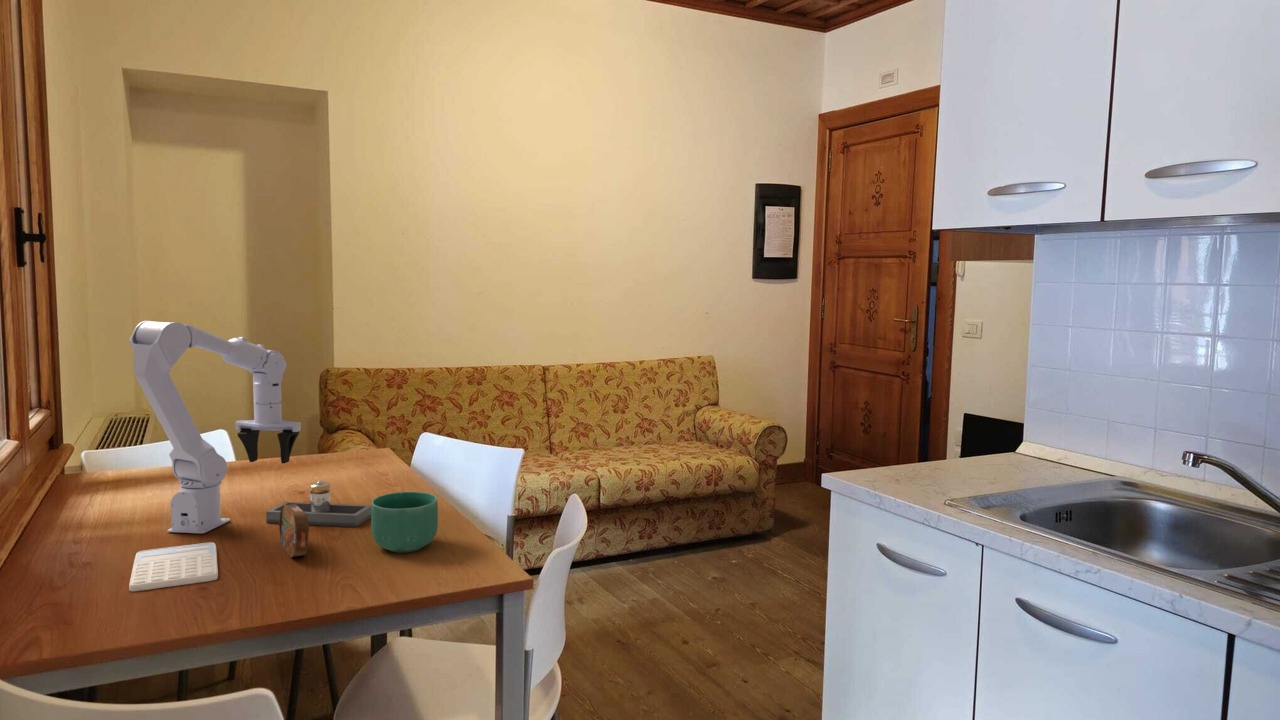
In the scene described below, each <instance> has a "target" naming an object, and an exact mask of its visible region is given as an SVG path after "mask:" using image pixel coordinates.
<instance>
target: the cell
mask: <svg viewBox="0 0 1280 720" xmlns="http://www.w3.org/2000/svg"><path fill="white" fill-rule="evenodd" d="M309 493H310V495H309V496H310V503H311V512H319V513H331V511H330V504H331V483H330V482H327V481H324V480H317V481H316V482H313V483H312V482H311V483H310V485H309Z"/></svg>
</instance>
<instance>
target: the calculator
mask: <svg viewBox="0 0 1280 720" xmlns="http://www.w3.org/2000/svg"><path fill="white" fill-rule="evenodd" d="M218 578H219V569H218V553H217V545H216V543H215V542H202V543H195V544H186V545H179V546H178V545H176V546H169V547H168V546H167V547H161V548H160V547H159V548H152V549H145V550H139V551H137V552H136V554H135V557H134V561H133V565H132V570H131V574H130V579H129V586H128V589H129V591H130V592H141V591H148V590H154V589H155V590H156V589H162V588H168V587H169V588H170V587H176V586H182V585H183V586H185V585H191V584H199V583H205V582H211V581H216V580H217V579H218Z"/></svg>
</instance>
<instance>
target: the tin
mask: <svg viewBox="0 0 1280 720" xmlns="http://www.w3.org/2000/svg"><path fill="white" fill-rule="evenodd" d="M278 526H279V528H278V529H279V530H278V531H279V542H280V544H281V547H282V549H283V550H284V551H285V552H286V554H287V555H288V557H289V558H291V559H292V558H296V557H303V556H306V554H307V553H308V551H309V530H310V525H309V522H308V517H307V515H306V513H305V512H304V511H303V510H302V509H301V508H300V507H299V506H298V505H294V504H293V505H283V506H282V508H281V512H280V521H279V525H278Z"/></svg>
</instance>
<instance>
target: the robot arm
mask: <svg viewBox="0 0 1280 720" xmlns="http://www.w3.org/2000/svg"><path fill="white" fill-rule="evenodd" d="M128 343H130V347H131V348H132V349H133V350H132V351H133V352H132V353H133V374H134V376H135V379H136V381H137V383H138V384H139V386H140V389H141V390H142V392H143V394H144V396H145V398H146V400H147V402H148V403H149V405H150V407H151V408H152V410H153V412H154V414H155V416H156V418H157V420H158V422H159V424H160V426H161V428H162V429H163V431H164V433H165V434H166V437H167V438H168V440H169V442H170V444H171V446H172V450H171V451H170V452H169V455H168V457H169V458H170V460H171V465H172V466H171V467H172V473H173V475H174V476H175V477H176V478H177V479H178V482H179V483H178V484H179V485H180V488H179V491H178V492H176V493H175V494H174V495H173V496H172V498H171V500H170V523H171V525H170V526H171V527H170V528H169V529H167V533H182V534H183V533H184V534H185V533H187V534H205V533H208V532H210V531H212V530H213V529H216V528H218V527H221V526H222V525H224V524H226V523H228V522H230V521H231V518H228V517H226V518H225V517H222V511H221V510H222V507H221V484H222V481H223V480H224V478H225V476H226V475H227V472H228V463H227V461H226V459H225V458H224V457H223V456H222V455H220V454H219V453H218V452H217V451H216V449H215V447H214V446H213V445H211V444H210V443H209V442H207V441H206V440H205V439H203V437H202V436H201V434H200V431H199V430H198V428H197V425H196V423H195V422H194V419H193V418H192V416H191V414H190V412H189V410H188V408H187V406H186V403H185V402H184V400H183V398H182V396H181V394H180V392H179V391H178V389H177V387H176V385H175V383H174V381H173V379H172V377H171V375H170V372H171V369H172V368H173V367H174V366H175V365H176V363H177V362H178V361H179V359H181V357H182V356H183V355H184V354H185V352H186V351H187V349H189V348H190V349H192V348H198V349H202V350H205V351H208V352H211V353H213V354H214V353H215V354H218V355H221V357H222V360H223V361H224V362H225V363H227V364H229V365H233V366H235V367H237V368H242V369H243V370H246V371H248V372H249V373H250V374H251V375H252V387H253V388H252V389H253V419H249V420H247V419H246V420H245V419H243V420H242V419H241V420H240V419H239V420H237V421H235V430H236V431H239V432H237V437H238V438H239V440H240V441H241V443H242V444H243V446H244V448H245V451H246V453H247V457H248V461H249V463H255V462H257V461H258V456H259V453H258V452H259V450H258V442H259V436H260V431H273V432H274V431H275V432H276V431H278V433H277V439H278V442H279V447H280V463H281V464H286V463H289V462H290V457H291V453H292V449H293V447H294V445H295V442H296V440H297V438H298V436H299V434H300V432H301V431H302V422H301V421H299V422H298V421H292V420H291V421H290V420H284V419H282V418H283V417H282V416H283V414H282V413H283V412H282V381H283V378H284V376H283V375H284V372H285V370H286V369H287V365H288V364H287V361H286V360H285V358H284V355H282V353H281V352H280V351H278V350H271V349H266V347H265V345H263V344H254V343H251V342H249V341H248V338H247V337H244V336H238V337H233V338H230V339H228V340H227V339H225V338H222V337H220V336H218V335H215V334H213V333H210V332H208V331H205V330H203V329H201V328H198V327H196V326H193V325H190V324H184V323H182V322H178V321H172V322H166V321H164V322H163V321H153V320H144V321H141V322H139V323H138V324H137V325H136V326H135V327H134V329H133V331H132V333H131V336H130V338H129V339H128Z"/></svg>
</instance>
